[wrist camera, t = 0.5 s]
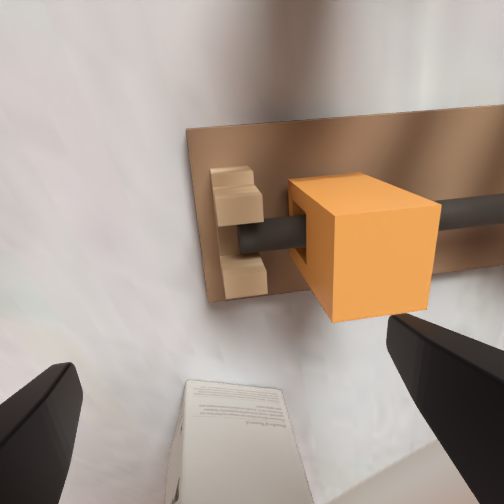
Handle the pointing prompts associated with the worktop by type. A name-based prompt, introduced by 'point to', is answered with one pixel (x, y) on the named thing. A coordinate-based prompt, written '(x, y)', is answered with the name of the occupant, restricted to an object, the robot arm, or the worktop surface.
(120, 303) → the worktop surface
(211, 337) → the worktop surface
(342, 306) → the sleeve
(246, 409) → the supplement box
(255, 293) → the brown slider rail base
